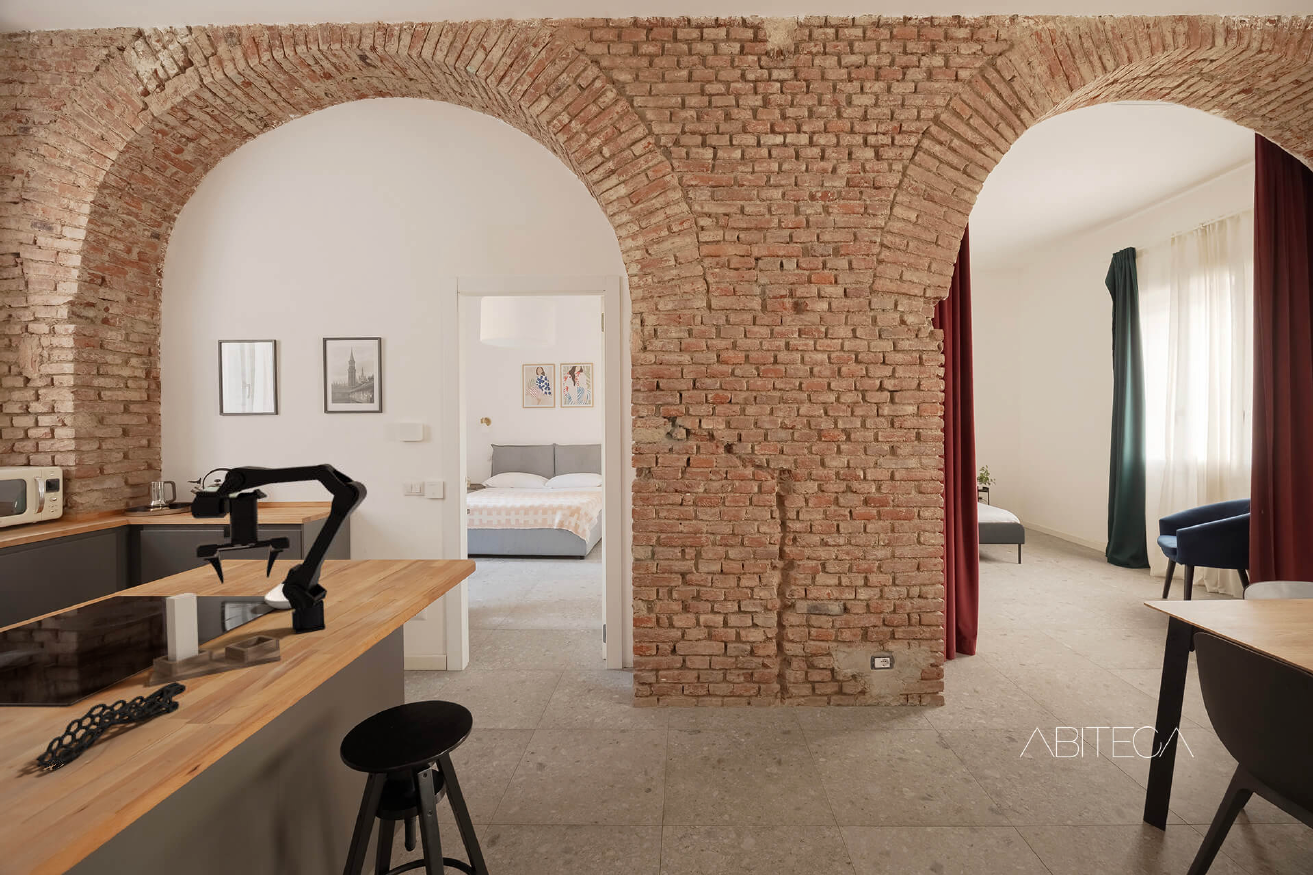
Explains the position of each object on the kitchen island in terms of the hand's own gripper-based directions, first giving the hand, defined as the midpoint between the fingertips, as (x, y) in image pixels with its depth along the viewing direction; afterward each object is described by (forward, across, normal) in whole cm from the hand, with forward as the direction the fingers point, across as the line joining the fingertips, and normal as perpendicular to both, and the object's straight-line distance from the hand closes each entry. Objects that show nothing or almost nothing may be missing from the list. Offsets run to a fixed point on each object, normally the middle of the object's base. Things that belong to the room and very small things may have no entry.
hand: (245, 580), depth 149 cm
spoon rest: (+14, -12, -25) cm, 31 cm away
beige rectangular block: (+12, +11, +21) cm, 26 cm away
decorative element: (+14, +18, +46) cm, 52 cm away
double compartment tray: (+13, +5, +21) cm, 25 cm away
